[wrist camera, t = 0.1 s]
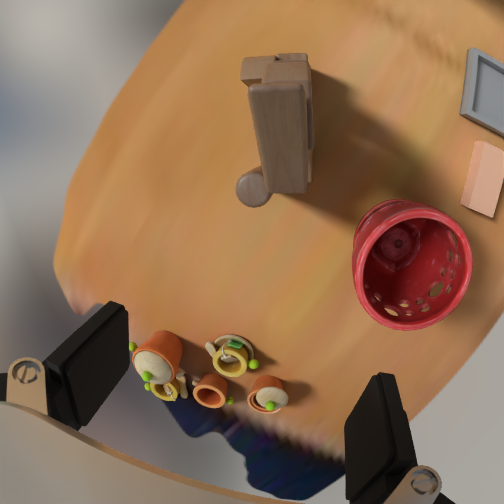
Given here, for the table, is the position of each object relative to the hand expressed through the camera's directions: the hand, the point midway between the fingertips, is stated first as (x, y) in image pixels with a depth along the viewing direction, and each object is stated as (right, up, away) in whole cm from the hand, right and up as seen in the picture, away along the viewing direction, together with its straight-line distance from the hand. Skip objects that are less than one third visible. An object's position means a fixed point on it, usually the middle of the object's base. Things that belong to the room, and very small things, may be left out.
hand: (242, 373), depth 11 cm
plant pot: (+19, +6, +28) cm, 34 cm away
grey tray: (+33, +25, +18) cm, 45 cm away
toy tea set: (-6, -15, +40) cm, 43 cm away
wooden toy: (+4, +20, +26) cm, 33 cm away
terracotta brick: (+31, +14, +23) cm, 41 cm away
